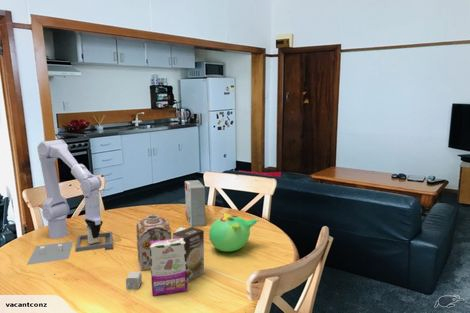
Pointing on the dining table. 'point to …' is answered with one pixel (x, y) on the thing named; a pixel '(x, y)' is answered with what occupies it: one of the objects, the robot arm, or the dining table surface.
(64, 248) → the panel
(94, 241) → the block
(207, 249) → the dining table surface
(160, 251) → the candy bar box
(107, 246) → the parts tray
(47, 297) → the dining table surface
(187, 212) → the hard drive box
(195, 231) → the coffee box
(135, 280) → the usb wall charger
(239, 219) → the toy bird
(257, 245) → the dining table surface
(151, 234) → the decorative jar
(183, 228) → the seamed sphere
